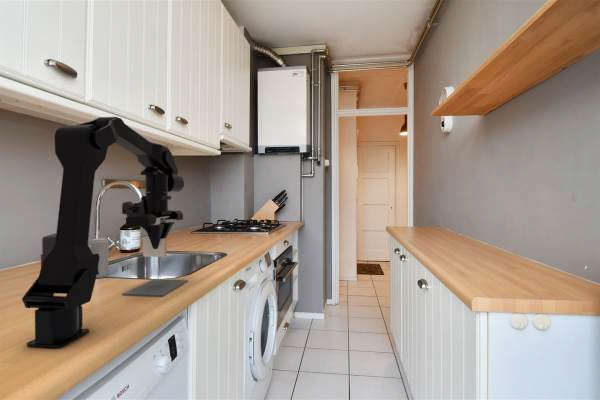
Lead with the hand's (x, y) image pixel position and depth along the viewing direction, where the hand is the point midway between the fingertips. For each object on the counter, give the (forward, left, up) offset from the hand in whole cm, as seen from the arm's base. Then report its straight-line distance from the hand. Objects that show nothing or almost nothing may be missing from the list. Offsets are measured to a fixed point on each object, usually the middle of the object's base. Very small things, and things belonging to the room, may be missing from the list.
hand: (157, 248), depth 86 cm
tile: (0, +1, -2) cm, 2 cm away
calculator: (-3, +28, -11) cm, 30 cm away
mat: (0, 0, -11) cm, 11 cm away
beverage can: (+9, +25, -11) cm, 29 cm away
